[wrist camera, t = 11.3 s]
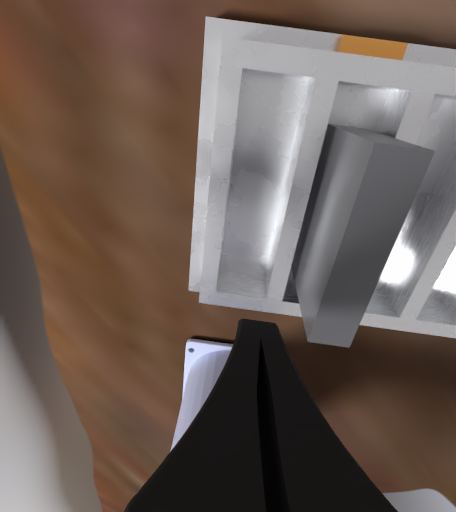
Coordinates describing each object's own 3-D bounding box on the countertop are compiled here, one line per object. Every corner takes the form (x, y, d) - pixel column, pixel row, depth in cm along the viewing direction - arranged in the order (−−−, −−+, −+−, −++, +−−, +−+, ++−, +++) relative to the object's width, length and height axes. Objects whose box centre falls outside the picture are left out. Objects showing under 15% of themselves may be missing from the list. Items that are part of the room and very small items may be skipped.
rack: (451, 318, 23) (483, 354, 20) (191, 282, 23) (181, 312, 20) (606, 73, 15) (697, 68, 12) (208, 21, 15) (197, 2, 12)
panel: (320, 270, 20) (349, 347, 14) (291, 266, 20) (307, 341, 14) (365, 128, 16) (435, 151, 10) (327, 123, 16) (374, 142, 10)
